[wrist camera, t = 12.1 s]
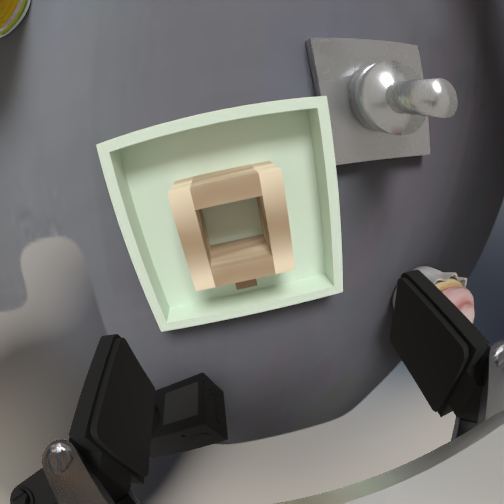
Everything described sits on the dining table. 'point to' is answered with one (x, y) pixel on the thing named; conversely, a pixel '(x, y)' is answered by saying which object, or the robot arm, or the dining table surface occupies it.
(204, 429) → the digital camera
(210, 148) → the tray
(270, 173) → the wooden square frame
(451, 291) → the cupcake
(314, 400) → the dining table surface
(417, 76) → the grey stand
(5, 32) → the supplement bottle
